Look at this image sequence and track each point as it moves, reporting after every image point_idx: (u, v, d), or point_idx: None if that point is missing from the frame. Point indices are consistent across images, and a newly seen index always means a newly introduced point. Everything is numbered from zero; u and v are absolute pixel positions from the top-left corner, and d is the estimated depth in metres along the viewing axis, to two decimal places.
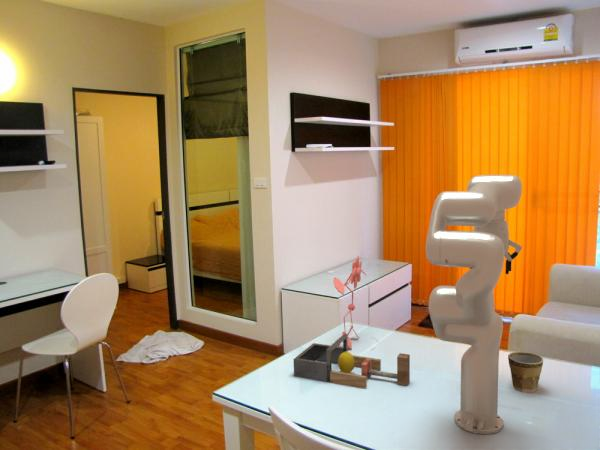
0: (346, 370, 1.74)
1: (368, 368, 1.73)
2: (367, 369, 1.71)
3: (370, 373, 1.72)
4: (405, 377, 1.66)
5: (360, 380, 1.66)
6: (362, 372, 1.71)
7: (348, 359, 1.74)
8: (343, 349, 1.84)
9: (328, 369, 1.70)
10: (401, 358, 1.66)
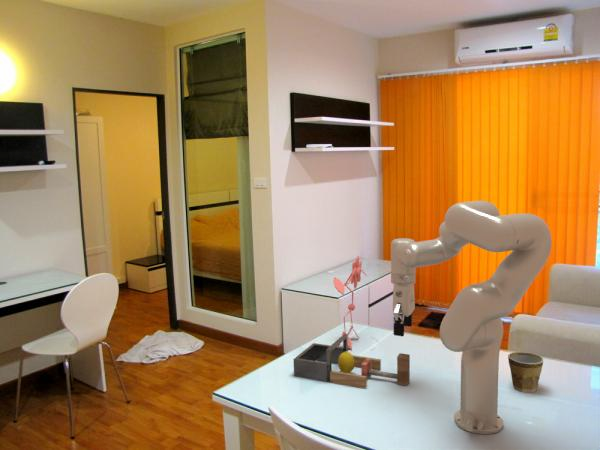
0: (346, 370, 1.74)
1: (368, 368, 1.73)
2: (367, 369, 1.71)
3: (370, 373, 1.72)
4: (405, 377, 1.66)
5: (360, 380, 1.66)
6: (362, 372, 1.71)
7: (348, 359, 1.74)
8: (343, 349, 1.84)
9: (328, 369, 1.70)
10: (401, 358, 1.66)
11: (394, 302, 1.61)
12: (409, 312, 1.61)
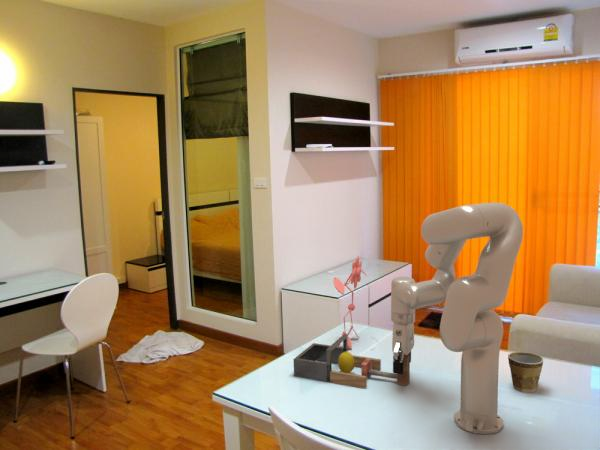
0: (346, 370, 1.74)
1: (368, 368, 1.73)
2: (367, 369, 1.71)
3: (370, 373, 1.72)
4: (405, 377, 1.66)
5: (360, 380, 1.66)
6: (362, 372, 1.71)
7: (348, 359, 1.74)
8: (343, 349, 1.84)
9: (328, 369, 1.70)
10: None
11: (394, 341, 1.63)
12: (408, 350, 1.63)
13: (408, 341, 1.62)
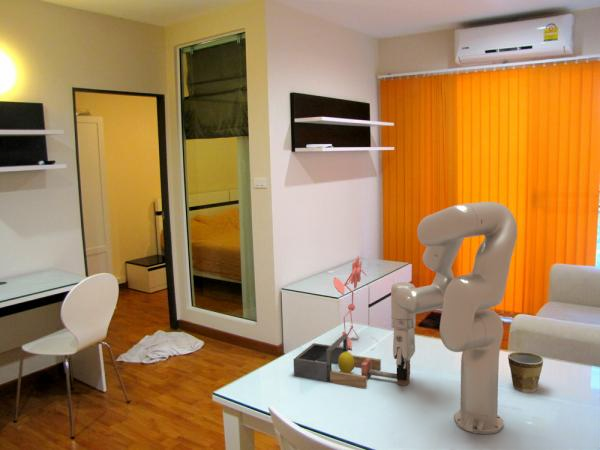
0: (346, 370, 1.74)
1: (368, 368, 1.73)
2: (367, 369, 1.71)
3: (370, 373, 1.72)
4: None
5: (360, 380, 1.66)
6: (362, 372, 1.71)
7: (348, 359, 1.74)
8: (343, 349, 1.84)
9: (328, 369, 1.70)
10: None
11: (394, 346, 1.63)
12: (409, 356, 1.63)
13: (409, 347, 1.62)
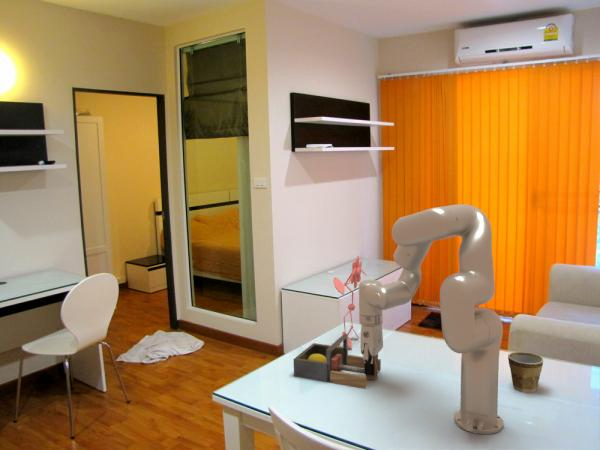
0: None
1: (338, 364, 1.77)
2: (337, 364, 1.76)
3: (340, 368, 1.76)
4: None
5: (360, 380, 1.66)
6: (332, 367, 1.75)
7: (310, 358, 1.80)
8: (343, 349, 1.84)
9: (328, 369, 1.70)
10: None
11: (362, 342, 1.67)
12: (376, 352, 1.68)
13: (376, 342, 1.67)
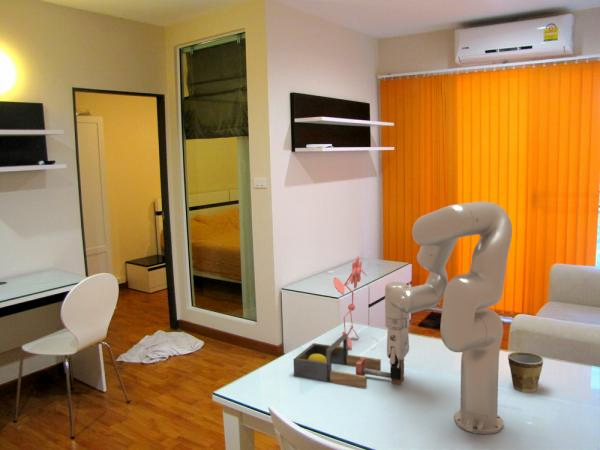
0: None
1: (363, 367, 1.74)
2: (361, 368, 1.72)
3: (364, 372, 1.73)
4: None
5: (360, 380, 1.66)
6: (356, 371, 1.72)
7: (310, 358, 1.80)
8: (343, 349, 1.84)
9: (328, 369, 1.70)
10: None
11: (388, 346, 1.63)
12: (403, 355, 1.64)
13: (402, 346, 1.63)
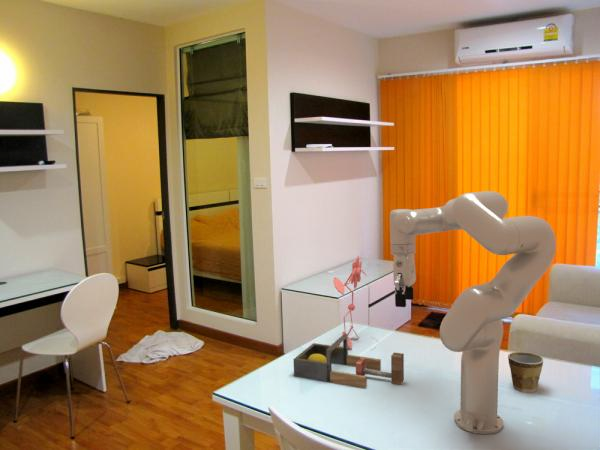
0: None
1: (363, 367, 1.74)
2: (361, 368, 1.72)
3: (364, 372, 1.73)
4: (399, 376, 1.67)
5: (360, 380, 1.66)
6: (356, 371, 1.72)
7: (310, 358, 1.80)
8: (343, 349, 1.84)
9: (328, 369, 1.70)
10: (395, 357, 1.67)
11: (395, 273, 1.59)
12: (410, 282, 1.60)
13: (409, 272, 1.59)
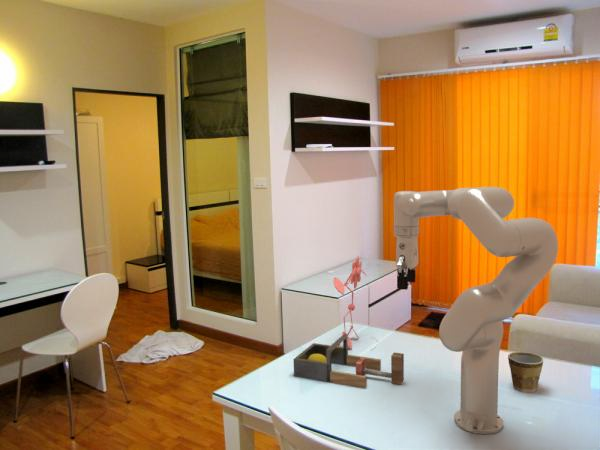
0: None
1: (363, 367, 1.74)
2: (361, 368, 1.72)
3: (364, 372, 1.73)
4: (399, 376, 1.67)
5: (360, 380, 1.66)
6: (356, 371, 1.72)
7: (310, 358, 1.80)
8: (343, 349, 1.84)
9: (328, 369, 1.70)
10: (395, 357, 1.67)
11: (397, 255, 1.59)
12: (413, 265, 1.59)
13: (412, 255, 1.58)
